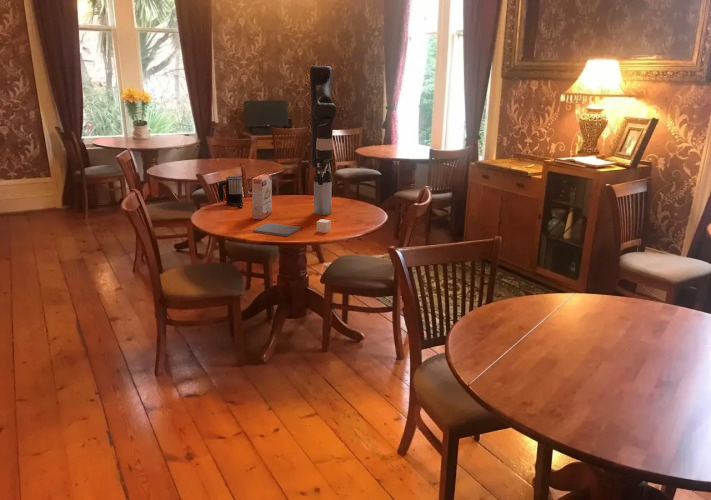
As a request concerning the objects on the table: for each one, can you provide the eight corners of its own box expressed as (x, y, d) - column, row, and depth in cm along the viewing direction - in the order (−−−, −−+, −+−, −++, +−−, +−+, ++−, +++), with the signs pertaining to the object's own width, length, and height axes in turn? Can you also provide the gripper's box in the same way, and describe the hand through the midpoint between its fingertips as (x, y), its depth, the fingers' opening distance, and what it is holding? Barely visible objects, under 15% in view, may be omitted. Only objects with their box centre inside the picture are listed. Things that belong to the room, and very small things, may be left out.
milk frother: (235, 201, 323) (234, 175, 318) (255, 205, 314) (254, 179, 309) (216, 205, 312) (214, 178, 307) (235, 210, 303) (234, 182, 298)
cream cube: (320, 229, 272) (321, 219, 271) (330, 230, 271) (330, 220, 269) (316, 231, 268) (316, 221, 266) (326, 233, 266) (326, 222, 265)
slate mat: (267, 224, 277) (267, 222, 276) (300, 229, 271) (300, 227, 271) (253, 231, 264) (253, 229, 264) (287, 236, 258) (287, 234, 258)
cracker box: (263, 220, 285) (262, 179, 278) (252, 219, 286) (250, 178, 279) (272, 213, 298) (272, 174, 291) (261, 212, 299) (261, 173, 292)
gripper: (323, 145, 265) (322, 180, 270) (310, 149, 252) (310, 185, 257) (338, 147, 262) (337, 181, 267) (326, 150, 250) (325, 186, 255)
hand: (324, 183), depth 262 cm, fingers open, 8 cm apart
